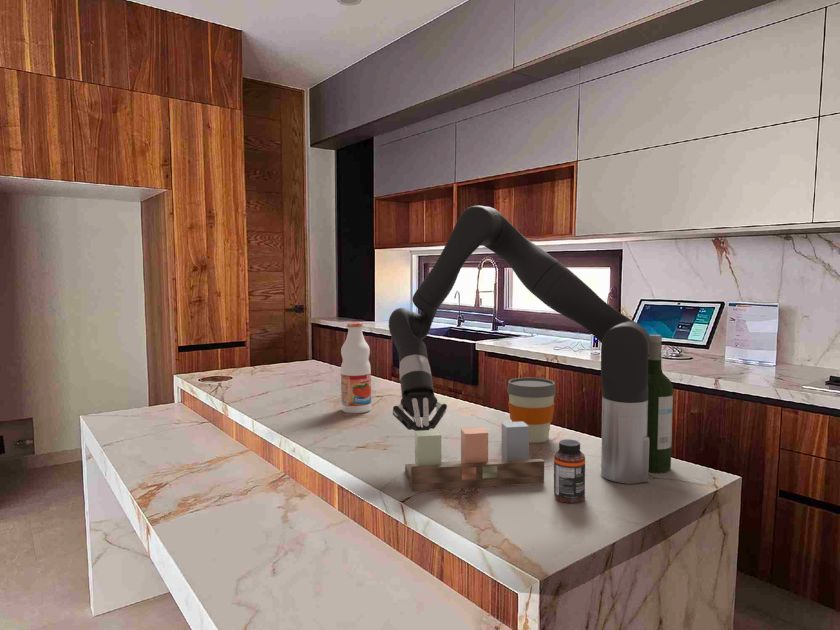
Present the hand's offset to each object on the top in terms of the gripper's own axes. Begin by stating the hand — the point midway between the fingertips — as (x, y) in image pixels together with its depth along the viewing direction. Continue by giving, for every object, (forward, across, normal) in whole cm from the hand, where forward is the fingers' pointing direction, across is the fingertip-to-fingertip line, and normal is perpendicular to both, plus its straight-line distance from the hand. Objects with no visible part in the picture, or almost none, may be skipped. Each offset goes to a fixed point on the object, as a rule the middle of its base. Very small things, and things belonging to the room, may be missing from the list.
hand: (424, 444), depth 125 cm
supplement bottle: (+17, +26, -7) cm, 32 cm away
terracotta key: (+7, +10, 0) cm, 12 cm away
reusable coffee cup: (-11, +32, +21) cm, 40 cm away
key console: (+7, +10, +3) cm, 12 cm away
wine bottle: (+8, +51, +2) cm, 52 cm away
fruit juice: (-37, -12, +48) cm, 62 cm away
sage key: (+7, 0, +1) cm, 7 cm away
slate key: (+4, +20, +3) cm, 21 cm away
